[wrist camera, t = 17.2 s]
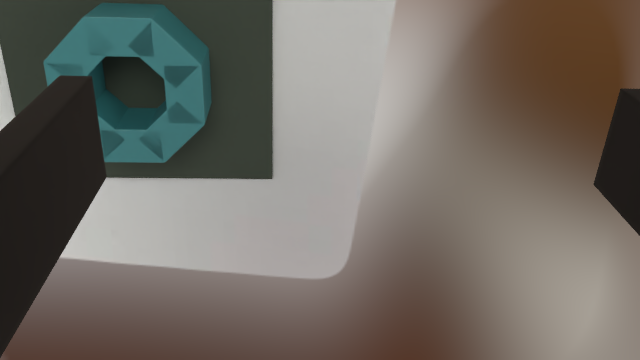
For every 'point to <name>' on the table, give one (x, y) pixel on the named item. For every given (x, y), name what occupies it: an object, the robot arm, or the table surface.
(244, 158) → the mat
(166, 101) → the ring
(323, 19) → the table surface
